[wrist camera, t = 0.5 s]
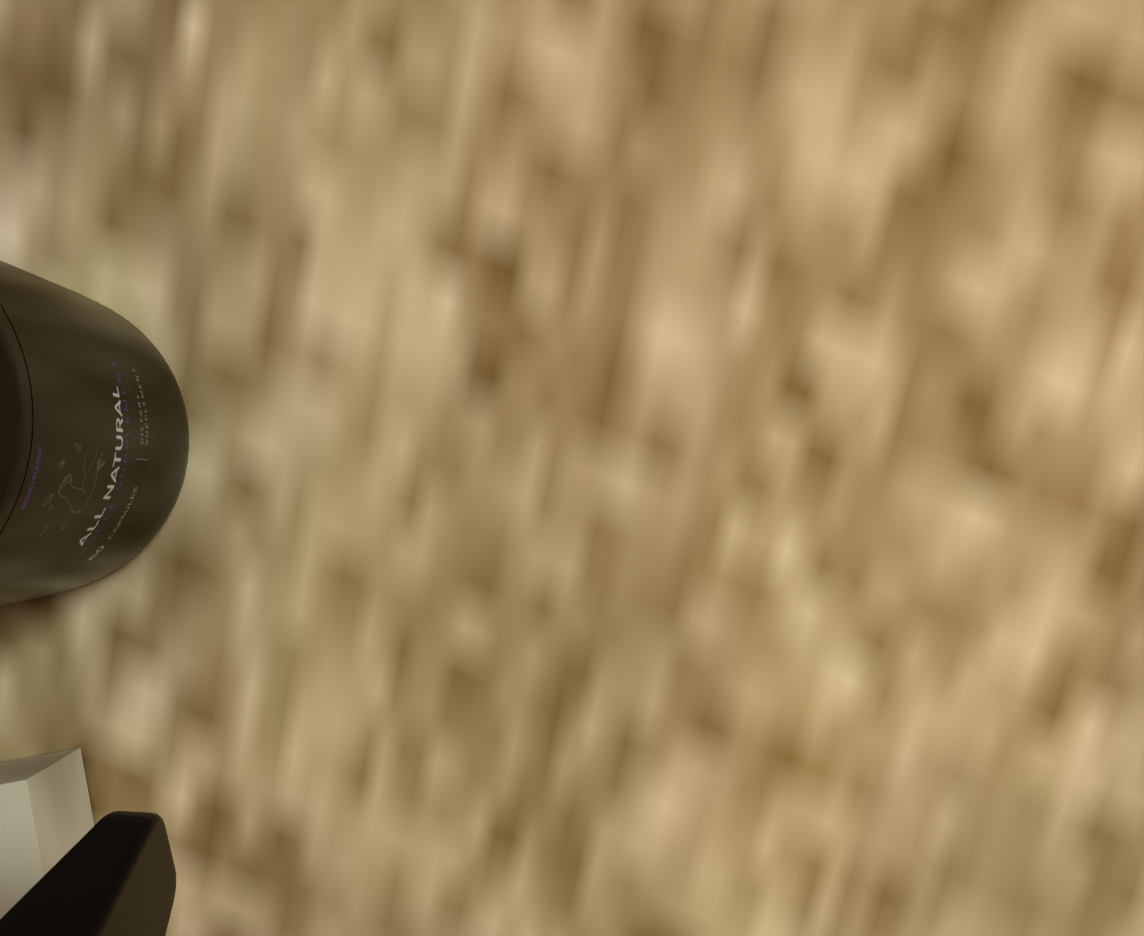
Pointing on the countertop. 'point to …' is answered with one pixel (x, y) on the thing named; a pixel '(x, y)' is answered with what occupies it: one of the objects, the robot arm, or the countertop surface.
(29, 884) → the board
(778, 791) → the countertop surface
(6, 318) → the supplement bottle
